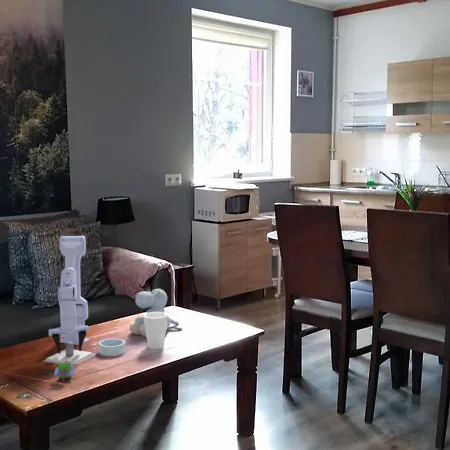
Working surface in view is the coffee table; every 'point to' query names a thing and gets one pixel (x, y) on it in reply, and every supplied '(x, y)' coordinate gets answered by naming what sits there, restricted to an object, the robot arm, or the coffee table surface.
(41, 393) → the coffee table surface
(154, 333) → the foam cup
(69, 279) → the robot arm
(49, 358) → the lid
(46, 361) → the mat
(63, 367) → the geometric puzzle
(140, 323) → the light blue rounded figure
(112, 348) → the bowl
